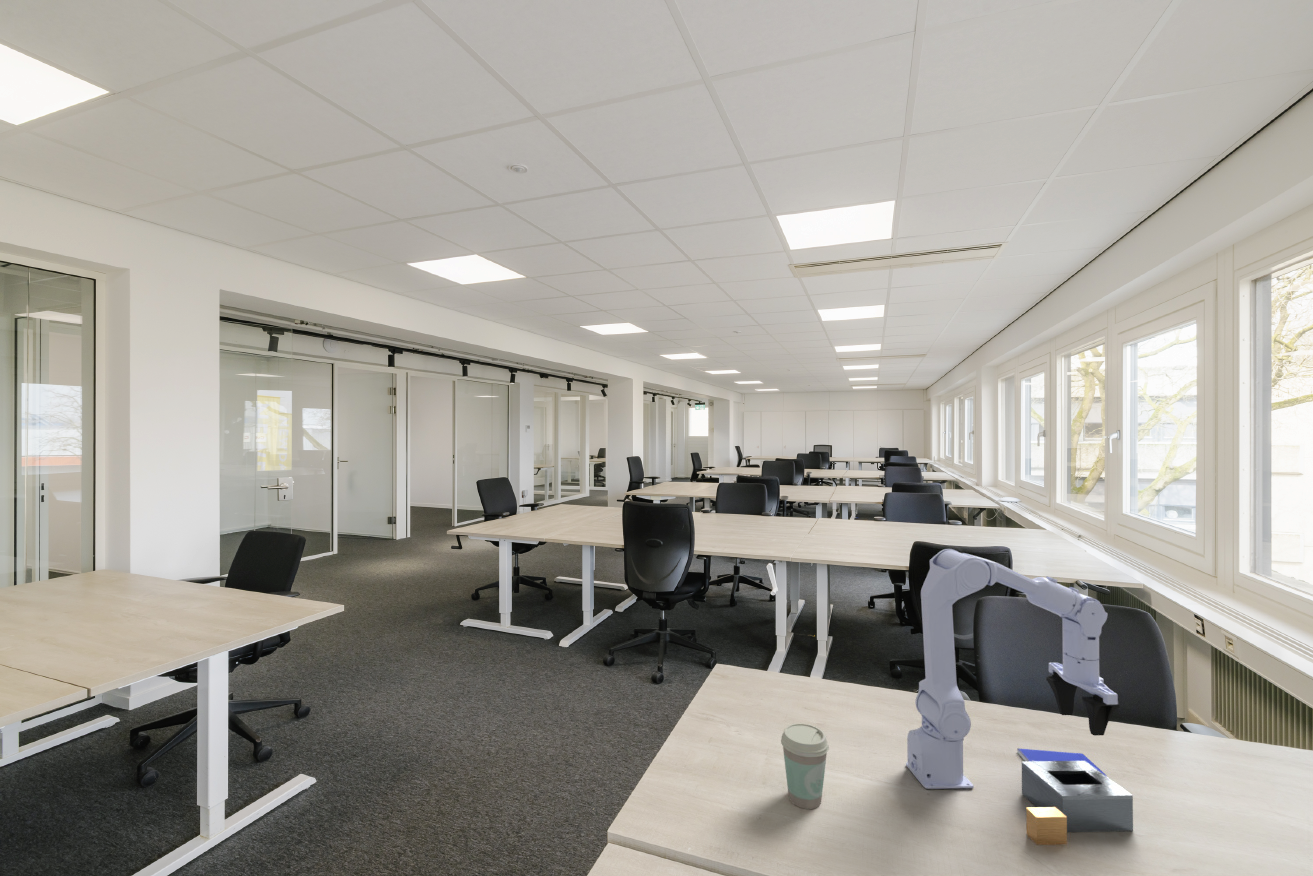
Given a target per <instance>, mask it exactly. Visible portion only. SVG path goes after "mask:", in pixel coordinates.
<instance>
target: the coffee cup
mask: <svg viewBox="0 0 1313 876" xmlns="http://www.w3.org/2000/svg"><path fill="white" fill-rule="evenodd" d="M780 738H781V739H780V744H781V745H782V749H783V759H784V768H785V776H786V785H787V786H786V787H787V793H788V799H789V801H790V802H791V803H792V804H793V805H795V806H797V807H798V808H801V809H805V810H806V809H807V810H812V809H816V808H818V807H820V805H821V804H822V799H823V790H824V782H825V781H824V780H825V772H826V763H827V755H828V751H829V750H830V746H829V740H828V739H827V736H826V733H825V732H824V731H823V730H822V729H821V728H819V727H817V726H816V725H814V724H809V723H804V722H803V723H801V722H800V723H798V722H797V723H796V722H795V723H791V724H788V725H786V726H785V728H784V730H783V733H782V734H781V737H780Z"/></svg>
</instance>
